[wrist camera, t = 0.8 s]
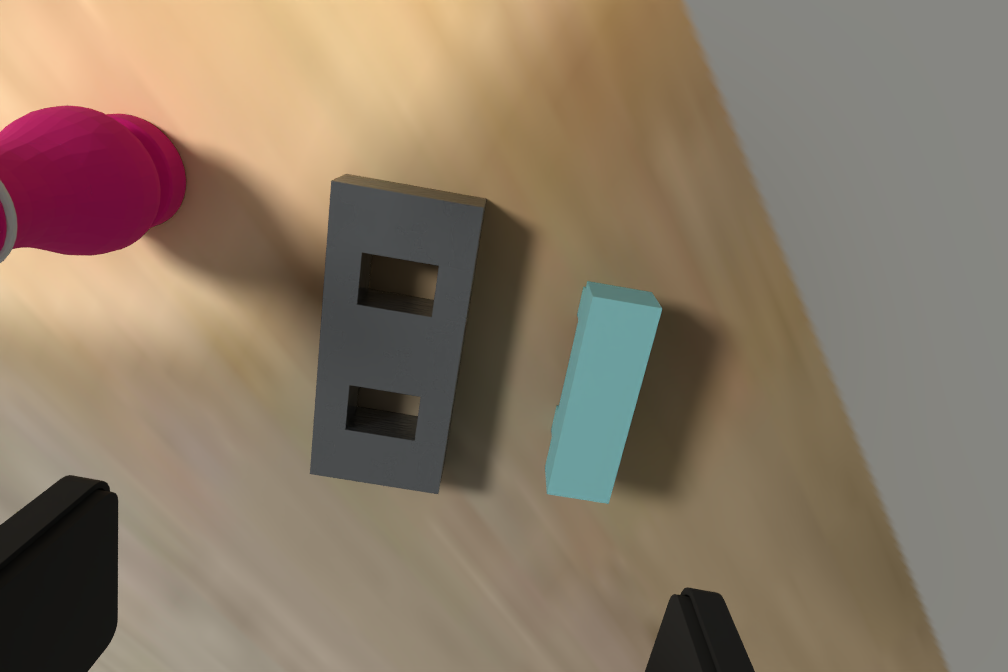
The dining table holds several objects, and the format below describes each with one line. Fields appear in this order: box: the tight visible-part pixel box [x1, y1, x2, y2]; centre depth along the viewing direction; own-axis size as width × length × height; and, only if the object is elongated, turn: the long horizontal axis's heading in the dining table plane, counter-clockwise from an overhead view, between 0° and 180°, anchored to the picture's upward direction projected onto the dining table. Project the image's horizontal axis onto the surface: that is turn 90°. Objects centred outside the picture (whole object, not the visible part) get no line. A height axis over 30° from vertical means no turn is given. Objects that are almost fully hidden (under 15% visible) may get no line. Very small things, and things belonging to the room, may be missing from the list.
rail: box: [310, 174, 487, 494], centre depth 38 cm, size 18×8×3 cm, turn 170°
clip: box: [545, 281, 662, 504], centre depth 37 cm, size 12×4×6 cm, turn 170°
